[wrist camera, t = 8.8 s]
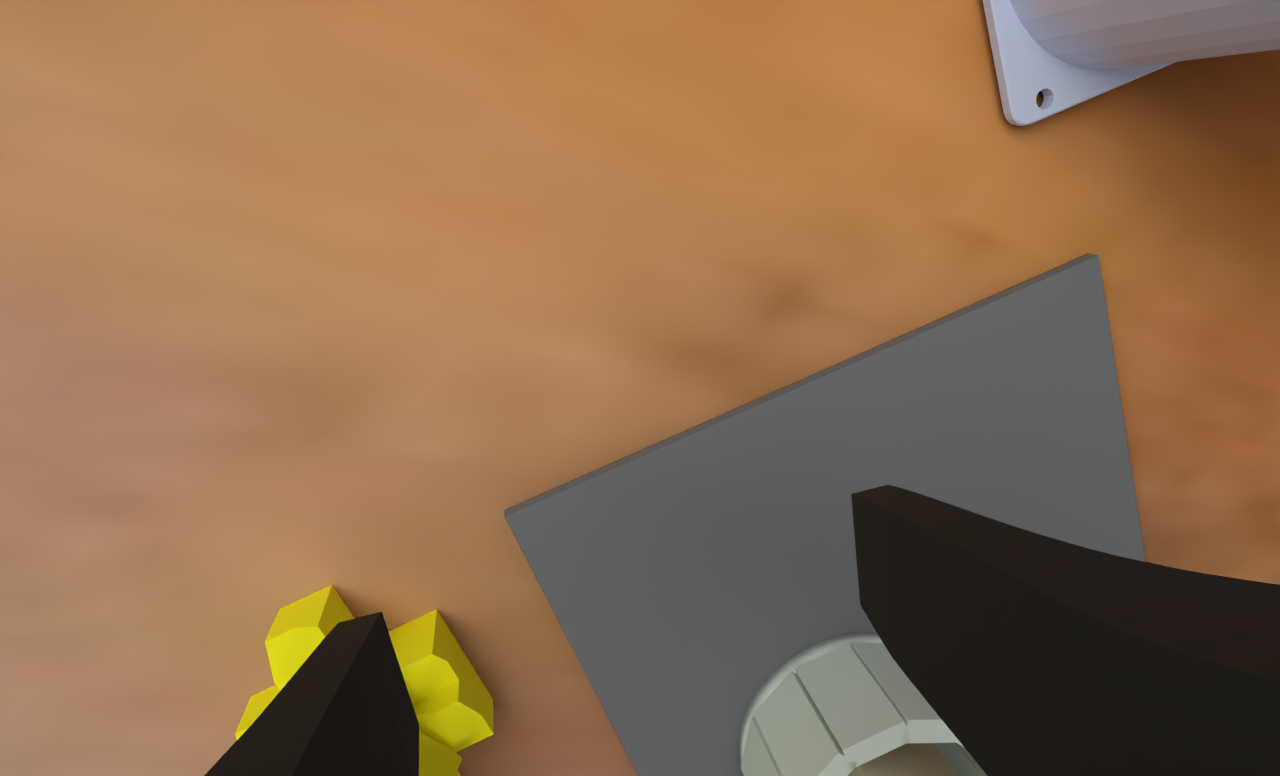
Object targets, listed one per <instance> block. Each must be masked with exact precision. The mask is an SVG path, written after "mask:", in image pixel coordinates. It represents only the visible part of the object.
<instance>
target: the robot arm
mask: <svg viewBox="0 0 1280 776" xmlns="http://www.w3.org/2000/svg"><path fill="white" fill-rule="evenodd" d="M983 5H984V11H985V16H986V21H987V27H988V32H989V37H990V43H991V48H992V53H993V59H994V64H995V69H996V74H997V80H998V85H999V90H1000V96H1001V101H1002V106H1003V112H1004V115H1005V118H1006V120H1007V121H1008V122H1009V123H1010V124H1012V125H1016V126H1024V125H1029V124H1032V123H1035V122H1037V121H1039V120H1042V119H1044V118H1046V117H1049V116H1051V115H1053V114H1056V113H1058V112H1060V111H1063V110H1065V109H1067V108H1070V107H1072V106H1074V105H1077V104H1079V103H1081V102H1084V101H1086V100H1089V99H1091V98H1093V97H1096V96H1098V95H1100V94H1103V93H1105V92H1107V91H1110V90H1112V89H1114V88H1117V87H1119V86H1121V85H1124V84H1126V83H1128V82H1131V81H1133V80H1135V79H1138V78H1140V77H1142V76H1145V75H1147V74H1149V73H1152V72H1154V71H1156V70H1159V69H1161V68H1164V67H1166V66H1168V65H1171V64H1173V63H1175V62H1178V61H1187V60H1195V59H1203V58H1212V57H1220V56H1229V55H1237V54H1246V53H1254V52H1262V51H1271V50H1279V49H1280V0H983ZM1040 91H1041V92H1042V94H1043V96H1044V98H1043V103H1042V105H1041V106H1040V107H1038V106H1037V104H1036V97H1037V95H1038V93H1039V92H1040ZM851 498H852V511H853V523H854V535H855V547H856V560H857V572H858V584H859V597H860V605H861V607H862V609H863V610H864V612H865V614H866V615H867V617H868V619H869V621H870V622H871V624H872V626H873V627H874V629H875V631H876V632H877V634H878V636H879V637H880V639H881V641H882V642H883V644H884V645H885V647H886V648H887V650H888V652H889V653H890V655H891V656H892V658H893V659H894V661H895V662H896V663H897V664H898V666H899V667H900V668H901V670H902V671H903V672H904V673H905V675H906V676H907V677H908V678H909V680H910V681H911V682H912V683H913V685H914V686H915V687H916V688H917V690H918V691H919V692H920V693H921V695H922V696H923V697H924V698H925V700H926V701H927V702H928V703H929V705H930V706H931V707H932V708H933V710H934V711H935V712H936V713H937V714H938V716H939V717H940V718H941V719H942V721H943V722H944V723H945V724H946V725H947V727H948V728H949V729H950V730H951V732H952V733H953V734H954V735H955V737H956V738H957V739H958V740H959V741H960V743H961V744H962V745H963V746H964V748H965V749H966V750H967V751H968V753H969V754H970V755H971V756H972V757H973V759H974V760H975V761H976V762H977V764H978V765H979V766H980V767H981V768H982V770H983V771H984V772H985V773H986V775H987V776H1280V585H1277V584H1269V583H1262V582H1255V581H1249V580H1242V579H1236V578H1229V577H1223V576H1216V575H1209V574H1203V573H1198V572H1192V571H1187V570H1181V569H1176V568H1171V567H1166V566H1162V565H1157V564H1153V563H1148V562H1143V561H1139V560H1134V559H1130V558H1125V557H1121V556H1116V555H1112V554H1108V553H1104V552H1100V551H1096V550H1092V549H1089V548H1085V547H1082V546H1078V545H1075V544H1071V543H1068V542H1064V541H1061V540H1057V539H1054V538H1050V537H1047V536H1043V535H1040V534H1037V533H1034V532H1031V531H1028V530H1024V529H1021V528H1018V527H1015V526H1012V525H1009V524H1006V523H1003V522H1000V521H997V520H994V519H991V518H988V517H985V516H982V515H979V514H977V513H974V512H971V511H968V510H965V509H962V508H959V507H956V506H954V505H951V504H948V503H945V502H942V501H939V500H936V499H934V498H931V497H928V496H925V495H922V494H919V493H916V492H913V491H909V490H906V489H903V488H899V487H895V486H891V485H885V486H881V487H877V488H873V489H869V490H865V491H861V492H857V493H853V494H851ZM205 776H419V722H418V719H417V716H416V713H415V710H414V707H413V704H412V701H411V698H410V695H409V692H408V689H407V686H406V683H405V680H404V677H403V674H402V671H401V668H400V665H399V662H398V659H397V656H396V653H395V650H394V647H393V644H392V641H391V638H390V635H389V632H388V629H387V626H386V623H385V620H384V617H383V614H382V612H379V613H375V614H371V615H367V616H363V617H359V618H355V619H351V620H347V621H343V622H339V623H338V624H337V625H336V626H335V627H334V628H333V629H332V630H331V631H330V632H329V633H328V635H327V636H326V637H325V638H324V639H323V640H322V642H321V643H320V644H319V645H318V646H317V648H316V649H315V650H314V651H313V652H312V654H311V655H310V656H309V657H308V658H307V660H306V661H305V662H304V663H303V664H302V666H301V667H300V668H299V669H298V670H297V672H296V673H295V674H294V675H293V676H292V678H291V679H290V680H289V681H288V682H287V684H286V685H285V686H284V687H283V688H282V690H281V691H280V692H279V693H278V694H277V695H276V697H275V698H274V699H273V700H272V701H271V702H270V704H269V705H268V706H267V707H266V708H265V710H264V711H263V712H262V713H261V714H260V715H259V717H258V718H257V719H256V720H255V721H254V722H253V724H252V725H251V726H250V727H249V728H248V729H247V730H246V731H245V732H244V733H243V734H242V736H241V737H240V738H239V739H238V740H237V741H236V742H235V743H234V744H233V745H232V746H231V747H230V749H229V750H228V751H227V752H226V753H225V754H224V755H223V756H222V757H221V758H220V759H219V760H218V762H217V763H216V764H215V765H214V766H213V767H212V768H211V769H210V770H209V771H208V772H207V773H206V775H205Z"/></svg>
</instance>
